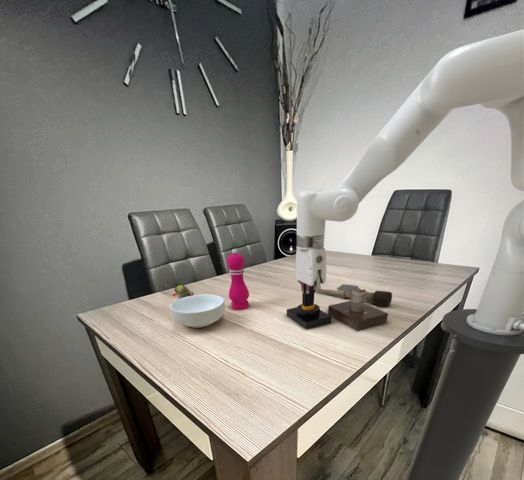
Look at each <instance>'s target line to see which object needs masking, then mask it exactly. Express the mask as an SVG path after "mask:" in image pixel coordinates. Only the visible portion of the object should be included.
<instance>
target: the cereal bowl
mask: <svg viewBox="0 0 524 480" xmlns="http://www.w3.org/2000/svg"><path fill="white" fill-rule="evenodd" d="M169 308H170V313H171V316H172V317H173V319H174V321H176V322H177V323H179V324H180V325H183V326H185V327H190V328H194V329H201V328H206V327H208V326H211V325H212V324H214V323H216V322H217V321H219V320H220V319H221V318H222V317H223V315H224V313H225V309H226V303H225V299H224V298H223V297H222V296H220V295H216V294H212V293H211V294H207V293H206V294H205V293H203V294H194V295H193V296H188V297H184V298H181V299H179V298H178V299H176V300H174V301H172V302H171V303H170V305H169Z"/></svg>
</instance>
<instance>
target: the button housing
mask: <svg viewBox="0 0 524 480" xmlns="http://www.w3.org/2000/svg"><path fill="white" fill-rule="evenodd" d="M314 304H315V309H314V310H303V309H302V303H301V304H298V305H297V307H292V308H286V317H288V318H289V319H290V320H292V321H293V322H295V323H296V324H298V325H299V326H300V327H302V328H303V329H305V330H309V329H313V328H317V327H321V326H324V325H328V324H332V318H333V317H332V316H330V315H328V313H327V312H325V311H323V310H321V307H320V305H318V304H316V303H314Z"/></svg>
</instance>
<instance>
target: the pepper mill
mask: <svg viewBox="0 0 524 480" xmlns="http://www.w3.org/2000/svg"><path fill="white" fill-rule="evenodd" d="M245 263H246V261H245V257H244V256H243V255H241V254H240V253H238V250H237V248H233V249H232V250H231V254H229V255H228V257H227V258H226V266H227V267H228V268H229V269H228V271H229V275H230V277H231V278H230V279H231V282H230V286H229V290H228V299H229V300H230V301H231V302H230V305H231V309H233V310H245V309H247V308H249V306H250V305H249V304H250V303H249V300H248V299H249V297H250V291H249V289H248V287H247V284H246V283H245V280H244V273H245V271H244V270H245V269H244V268H245V267H244V266H245V265H246V264H245Z"/></svg>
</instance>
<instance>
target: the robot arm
mask: <svg viewBox="0 0 524 480" xmlns="http://www.w3.org/2000/svg"><path fill="white" fill-rule="evenodd" d="M475 105H481V106H482V107H483V108H486V109H493V110H497V111H499V112H500V113H502V114H503V115H504V116H505V118H506V119H507V121H508V125H509V130H510V131H509V132H510V158H511V159H510V165H511V166H510V178H511V184H512V186H513V188H515V189H516V190H518V191H522V192H524V28H523V29H519V30H515V31H512V32H508V33H505V34H501V35H498V36H494V37H490V38H486V39H483V40H479V41H475V42H472V43H468V44H466V45H462V46H459V47H456V48H454V49H452V50H451V51H449V52H446V54H445V55H443V56H442V57H441V58H440V59H439V60H438V61H437V63H436V64H435V65H434V66H433V67H432V68H431V70H430V71H429V72H428V73H427V74H426V75H425V76H424V78H423V79H422V80H421V82H419V84H418V85H417V86H416V88H414V89H413V91H412V92H411V93H410V95H409V96H408V97H407V98H406V100H405V101H404V102H403V103H402V104H401V105H400V107H399V108H398V109H397V110H396V112H395V113H394V114H393V115H392V116H391V118H390V119H389V120H388V121H387V122H386V124H385V125H384V126H383V127H382V129H381V130H380V131H379V132H378V133H377V135H376V136H375V137H374V138H373V139H372V141H371V142H370V143H369V145H368V147H367V148H366V150H365V151H364V152H363V154H362V155H361V156H360V157H359V159H358V161H357V162H356V163H355V165H353V167H352V168H351V169H350V170H349V171H348V173H346V175H345V176H344V178H343V179H342V180H341V181H340V182H339V183H338V184H337V186H336V187H335V188H331V189H327V190H324V189H303V190H301V191H299V192H298V194H297V197H296V247H295V248H296V250H295V262H294V263H295V264H294V265H295V266H294V274H295V275H294V276H295V279H296V280H297V282H298V283H299V284H300V287H301V289H300V290H301V293H302V296H301V301H302V302H301V304H302V305H304V306H305V307H306V306H311V305H313V304H315V293H316V292H317V290H320V289H322V288H321V287H322V286H321V285H324V284H325V283H326V281H327V253H326V248H325V235H326V234H325V233H326V221H328V222H329V221H330V222H338V223H339V222H346V221H348V220H350V219H352V218H353V217H354V216H355V214H356V213H357V211H358V209H359V204H360V203H361V202H362V201H363V200H364V199H365V198H366V197H367V195H368V194H369V193H370V192H371V191H372V190H373V189H374V188H375V187H376V186H377V185H378V184H379V183H380V182H381V181H382V180H384V179H385V178H386V177H388V176H389V175H391V174H392V173H394V172H395V171H396V170H397V169H398V168H400V166H401V165H402V164H404V163H405V162H406V161H407V160H408V158H409V157H410V156H411V155H412V154H413V153H414V152H415V151H416V150H417V149H418V148H419V146H420V145H421V144H422V143H423V142H424V141H425V140H426V139H427V138H428V137H429V135H430V134H431V133H432V132H434V130H435V129H436V128H437V127H438V126H439V125H440V124H441V123H442V122H443V121H444V119H445V118H447V116H448V115H449V114H450V113H451V112H452V111H454V110H456V109H458V108H463V107H469V106H475ZM476 309H477V311H476V313H475V314H472V315H469V316H468V317H467V319H466V322H467V324H468V325H469V326H471V327H473V328H475V329H477V330H480V331H483V332H486V333H491V334H496V335H518V334H521V333H522V332H523V331H524V199H522V200H521V201H520V202H518V203H517V204H516V205H515V206H513V208H512V209H511V210H510V211H509V212H508V213H507V215H506V218H505V220H504V223H503V225H502V231H501V238H500V242H499V247H498V250H497V254H496V256H495V259H494V262H493V265H492V267H491V270H490V273H489V275H488V278H487V281H486V283H485V286H484V289H483V291H482V295H481V298H480V300H479V303H478V305H477V308H476Z"/></svg>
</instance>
